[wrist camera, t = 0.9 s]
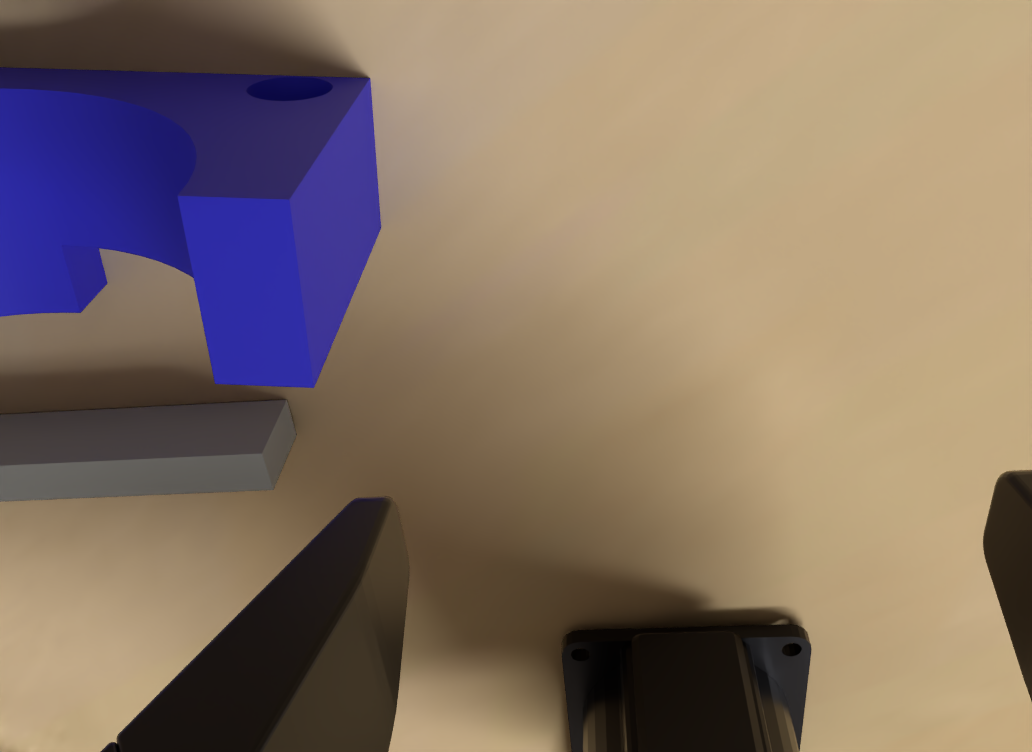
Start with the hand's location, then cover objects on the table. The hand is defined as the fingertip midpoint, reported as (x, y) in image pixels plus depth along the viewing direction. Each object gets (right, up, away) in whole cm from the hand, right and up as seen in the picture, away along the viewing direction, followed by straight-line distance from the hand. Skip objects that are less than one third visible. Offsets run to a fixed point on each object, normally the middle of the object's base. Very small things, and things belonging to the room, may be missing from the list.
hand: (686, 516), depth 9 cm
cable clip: (-10, +6, +10) cm, 15 cm away
